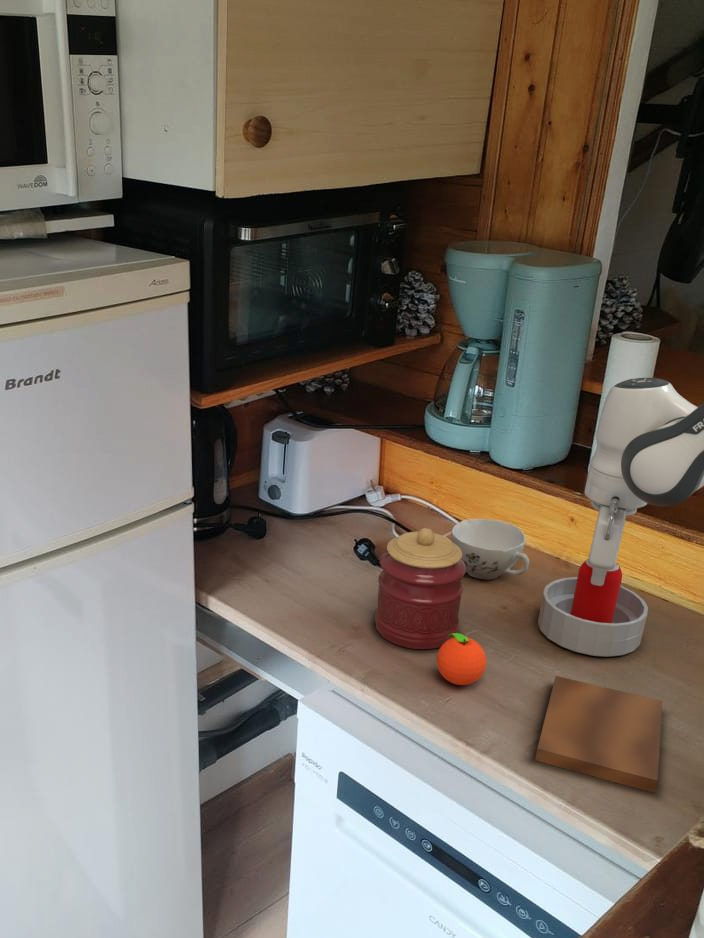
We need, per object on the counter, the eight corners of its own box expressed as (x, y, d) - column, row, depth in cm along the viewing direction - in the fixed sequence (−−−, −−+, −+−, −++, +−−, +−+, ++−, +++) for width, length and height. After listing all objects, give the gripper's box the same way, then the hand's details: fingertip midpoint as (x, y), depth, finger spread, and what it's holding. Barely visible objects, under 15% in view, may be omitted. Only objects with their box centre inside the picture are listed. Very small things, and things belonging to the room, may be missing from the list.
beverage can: (607, 644, 140) (623, 575, 134) (565, 634, 142) (579, 566, 137) (610, 625, 144) (625, 558, 139) (570, 617, 147) (583, 550, 142)
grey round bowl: (642, 621, 147) (649, 589, 144) (636, 668, 134) (645, 634, 132) (544, 601, 153) (550, 569, 150) (531, 644, 140) (537, 611, 138)
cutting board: (659, 712, 125) (662, 700, 124) (654, 793, 110) (657, 780, 109) (553, 687, 130) (555, 675, 129) (534, 760, 115) (537, 748, 114)
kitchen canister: (357, 630, 144) (366, 529, 136) (402, 601, 152) (413, 504, 145) (429, 661, 136) (442, 556, 128) (472, 628, 144) (487, 528, 137)
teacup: (432, 568, 163) (437, 528, 160) (478, 551, 170) (483, 512, 166) (499, 602, 152) (506, 559, 149) (545, 582, 159) (553, 541, 155)
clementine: (422, 667, 134) (427, 626, 131) (464, 660, 136) (470, 620, 133) (448, 698, 127) (454, 655, 124) (492, 690, 129) (499, 648, 126)
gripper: (637, 516, 123) (616, 605, 129) (644, 467, 140) (625, 548, 146) (588, 508, 125) (570, 595, 131) (601, 461, 142) (584, 540, 148)
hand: (599, 570), depth 139 cm, fingers open, 8 cm apart
